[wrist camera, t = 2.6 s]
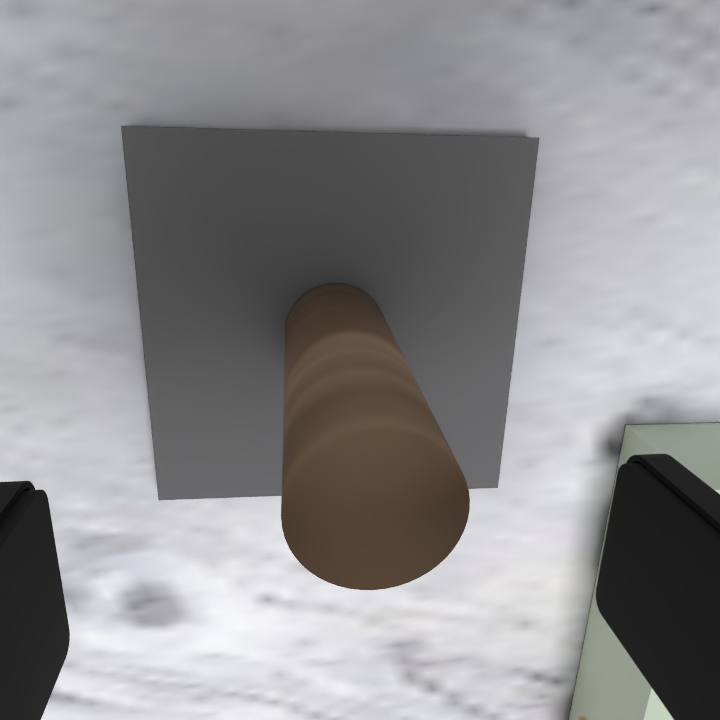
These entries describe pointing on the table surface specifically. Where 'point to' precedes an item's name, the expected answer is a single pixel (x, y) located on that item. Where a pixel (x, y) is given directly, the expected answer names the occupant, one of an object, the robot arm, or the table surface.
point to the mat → (319, 281)
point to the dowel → (362, 450)
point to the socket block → (601, 646)
